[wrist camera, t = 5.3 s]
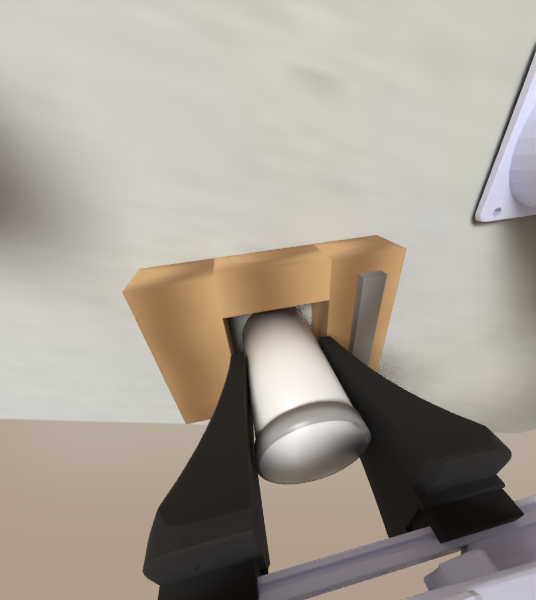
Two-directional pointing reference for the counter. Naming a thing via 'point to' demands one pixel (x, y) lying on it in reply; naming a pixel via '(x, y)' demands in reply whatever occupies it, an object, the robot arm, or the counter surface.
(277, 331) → the salt shaker
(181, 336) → the jig
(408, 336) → the counter surface
